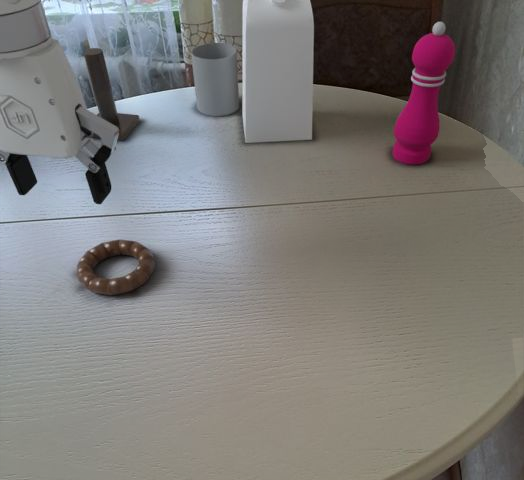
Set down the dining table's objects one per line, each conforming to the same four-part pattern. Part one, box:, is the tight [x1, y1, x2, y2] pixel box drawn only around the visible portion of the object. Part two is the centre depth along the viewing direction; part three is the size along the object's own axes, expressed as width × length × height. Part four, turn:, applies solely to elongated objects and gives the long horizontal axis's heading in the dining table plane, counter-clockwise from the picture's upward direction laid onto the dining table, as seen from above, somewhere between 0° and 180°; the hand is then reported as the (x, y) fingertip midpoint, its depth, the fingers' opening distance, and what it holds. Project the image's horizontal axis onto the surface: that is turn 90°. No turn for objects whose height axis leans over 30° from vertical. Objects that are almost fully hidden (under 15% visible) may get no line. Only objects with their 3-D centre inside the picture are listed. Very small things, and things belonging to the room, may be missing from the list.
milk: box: [241, 0, 315, 144], centre depth 84 cm, size 12×12×26 cm
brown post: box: [83, 47, 141, 142], centre depth 89 cm, size 8×8×13 cm
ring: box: [76, 238, 156, 296], centre depth 66 cm, size 10×10×2 cm
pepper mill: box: [391, 21, 456, 166], centre depth 78 cm, size 7×7×20 cm
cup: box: [190, 42, 240, 117], centre depth 96 cm, size 8×8×10 cm
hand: (65, 193), depth 59 cm, fingers open, 9 cm apart
